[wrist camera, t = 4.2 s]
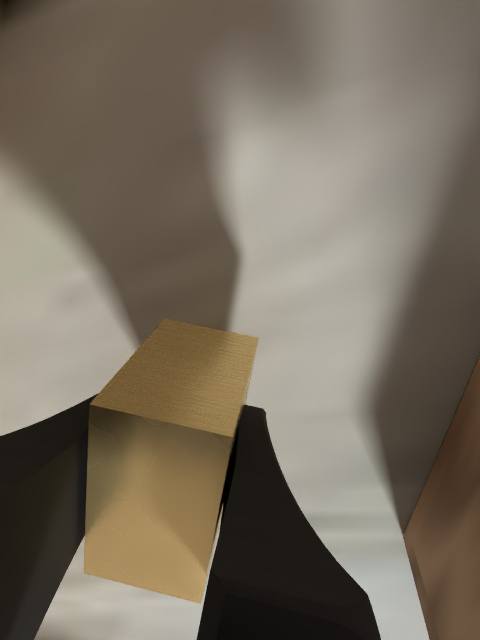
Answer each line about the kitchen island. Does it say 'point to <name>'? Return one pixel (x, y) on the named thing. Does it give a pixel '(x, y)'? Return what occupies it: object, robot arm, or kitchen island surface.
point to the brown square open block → (451, 528)
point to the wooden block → (164, 458)
